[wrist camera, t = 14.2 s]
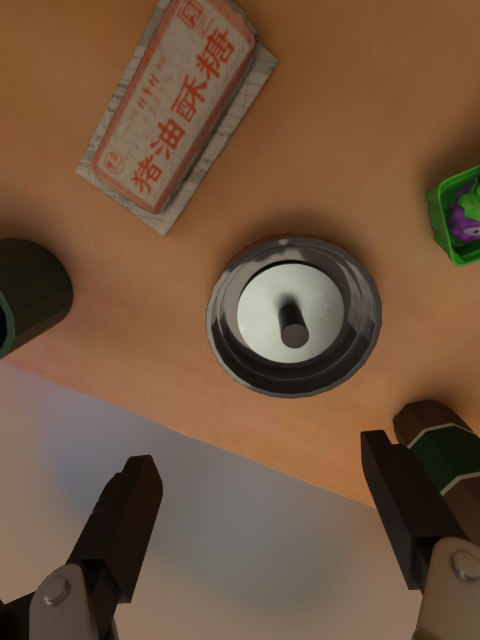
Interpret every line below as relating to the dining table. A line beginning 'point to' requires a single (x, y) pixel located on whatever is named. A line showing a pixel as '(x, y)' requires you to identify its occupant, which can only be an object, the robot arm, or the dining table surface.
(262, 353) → the lid
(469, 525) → the beer bottle
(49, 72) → the dining table surface
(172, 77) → the packaged product
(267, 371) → the pan
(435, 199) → the fruit basket
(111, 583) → the robot arm
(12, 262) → the pot
